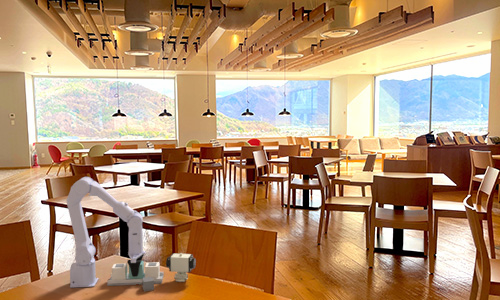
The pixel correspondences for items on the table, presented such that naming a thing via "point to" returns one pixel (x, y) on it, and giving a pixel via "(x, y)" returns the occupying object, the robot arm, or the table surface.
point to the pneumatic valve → (181, 265)
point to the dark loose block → (148, 284)
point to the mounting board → (122, 278)
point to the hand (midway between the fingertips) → (136, 273)
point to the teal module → (140, 274)
